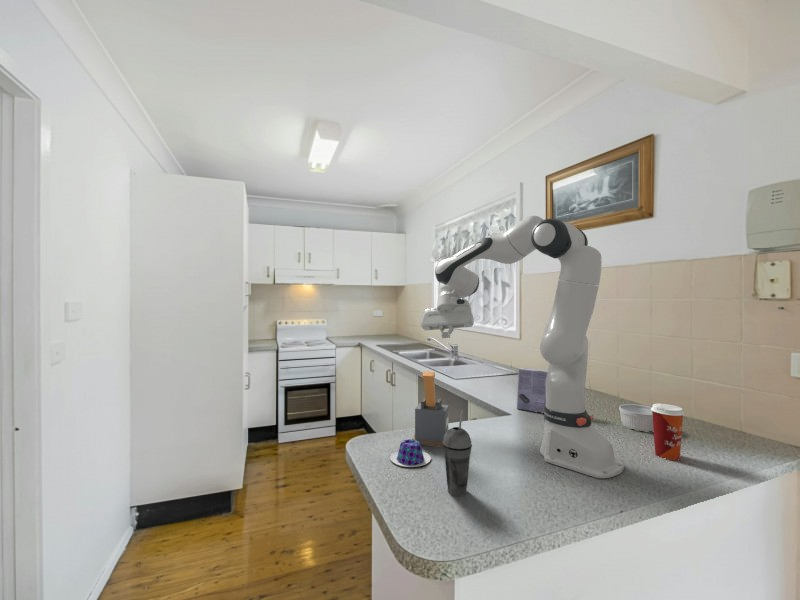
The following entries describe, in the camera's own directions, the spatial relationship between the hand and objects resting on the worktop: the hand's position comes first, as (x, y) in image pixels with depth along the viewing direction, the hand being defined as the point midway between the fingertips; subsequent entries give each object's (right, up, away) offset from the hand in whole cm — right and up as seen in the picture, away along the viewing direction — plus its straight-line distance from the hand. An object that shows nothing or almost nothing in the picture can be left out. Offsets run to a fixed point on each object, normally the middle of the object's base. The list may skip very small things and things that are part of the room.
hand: (445, 337), depth 135 cm
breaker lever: (-7, -21, -16) cm, 27 cm away
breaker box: (-6, -33, -14) cm, 37 cm away
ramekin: (+72, -34, 0) cm, 80 cm away
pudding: (-14, -34, -28) cm, 46 cm away
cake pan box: (+43, -34, +18) cm, 57 cm away
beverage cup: (-3, -33, -46) cm, 57 cm away
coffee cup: (+64, -34, -25) cm, 77 cm away
